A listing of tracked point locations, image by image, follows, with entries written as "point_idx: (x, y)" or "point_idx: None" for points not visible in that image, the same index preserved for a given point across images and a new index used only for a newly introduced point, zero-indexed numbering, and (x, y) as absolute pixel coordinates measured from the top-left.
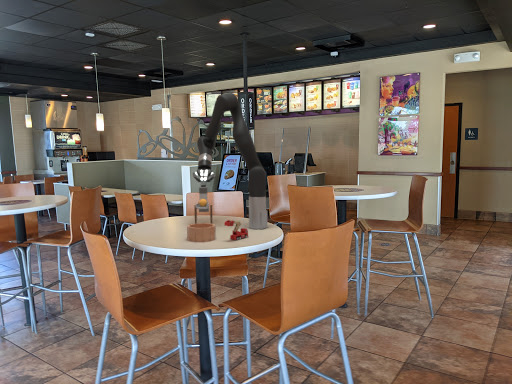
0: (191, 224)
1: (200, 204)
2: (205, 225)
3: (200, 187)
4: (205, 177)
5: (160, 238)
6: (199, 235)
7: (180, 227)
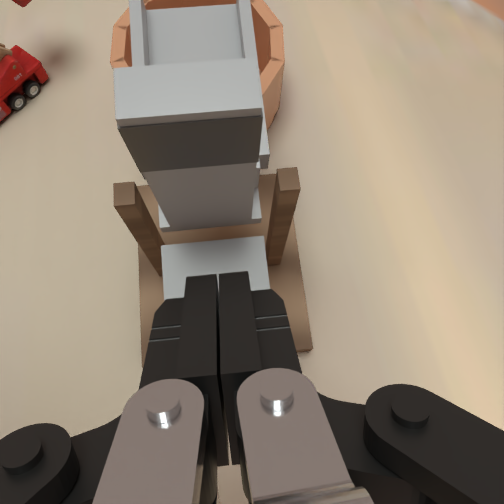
0: (268, 73)
1: None
2: None
3: (233, 64)
4: (143, 493)
5: (426, 105)
6: None
7: None
